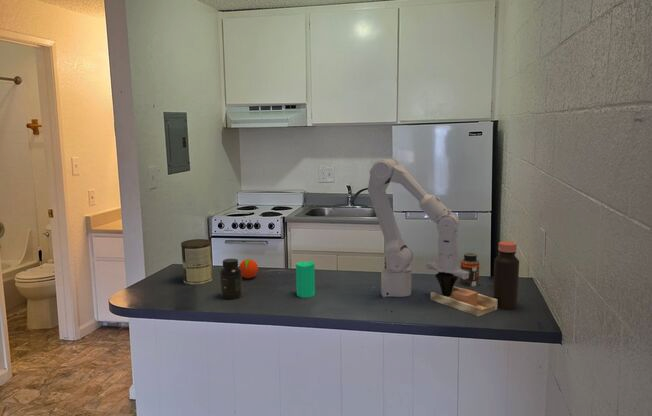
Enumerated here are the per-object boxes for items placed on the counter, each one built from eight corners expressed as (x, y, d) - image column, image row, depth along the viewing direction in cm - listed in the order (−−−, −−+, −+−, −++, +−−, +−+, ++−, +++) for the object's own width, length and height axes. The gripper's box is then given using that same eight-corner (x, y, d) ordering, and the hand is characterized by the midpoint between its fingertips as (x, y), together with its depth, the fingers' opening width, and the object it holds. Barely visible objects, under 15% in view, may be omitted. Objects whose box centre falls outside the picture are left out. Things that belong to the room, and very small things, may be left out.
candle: (318, 292, 163) (317, 257, 161) (309, 298, 157) (309, 262, 156) (301, 290, 165) (301, 255, 163) (293, 296, 160) (292, 260, 158)
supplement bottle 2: (479, 290, 163) (480, 256, 161) (460, 289, 164) (461, 256, 163) (477, 284, 169) (478, 252, 167) (459, 283, 170) (460, 251, 168)
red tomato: (256, 281, 176) (255, 262, 174) (237, 281, 176) (236, 262, 175) (259, 275, 184) (259, 256, 182) (241, 275, 184) (240, 256, 182)
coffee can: (177, 281, 177) (174, 243, 175) (199, 274, 185) (197, 237, 183) (196, 286, 171) (193, 246, 169) (218, 279, 179) (216, 241, 177)
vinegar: (521, 310, 145) (525, 243, 142) (506, 315, 141) (510, 247, 138) (502, 303, 150) (505, 239, 147) (487, 308, 147) (490, 242, 144)
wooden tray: (430, 303, 152) (430, 290, 151) (463, 292, 161) (463, 280, 160) (478, 320, 138) (478, 306, 137) (511, 307, 147) (511, 294, 146)
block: (452, 304, 147) (452, 291, 146) (463, 300, 150) (463, 288, 149) (466, 309, 143) (466, 296, 142) (477, 305, 146) (477, 292, 145)
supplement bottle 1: (216, 297, 160) (214, 261, 158) (232, 291, 166) (231, 256, 164) (231, 301, 156) (229, 264, 154) (246, 295, 161) (245, 259, 160)
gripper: (420, 250, 153) (419, 292, 155) (458, 260, 142) (457, 305, 144) (435, 247, 157) (435, 288, 159) (473, 256, 146) (472, 300, 148)
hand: (446, 296), depth 152 cm, fingers closed
